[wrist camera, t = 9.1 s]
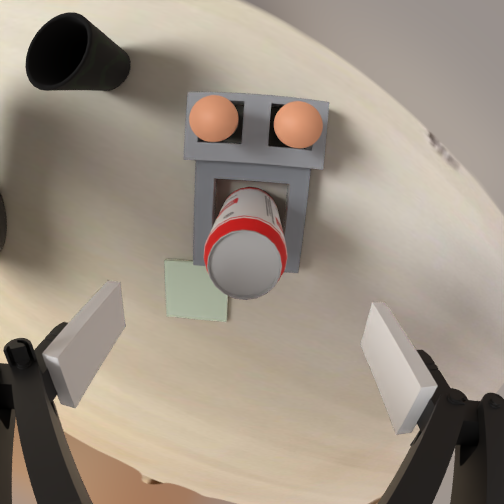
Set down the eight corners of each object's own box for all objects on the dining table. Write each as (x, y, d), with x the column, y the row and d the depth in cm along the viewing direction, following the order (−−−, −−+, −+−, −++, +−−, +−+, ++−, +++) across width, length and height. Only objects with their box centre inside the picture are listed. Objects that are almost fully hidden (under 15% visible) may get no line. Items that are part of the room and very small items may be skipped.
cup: (150, 53, 30) (107, 24, 19) (117, 108, 33) (62, 102, 22) (103, 33, 29) (52, 5, 18) (73, 85, 31) (13, 75, 20)
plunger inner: (203, 140, 33) (187, 141, 25) (206, 104, 32) (190, 94, 24) (240, 141, 33) (235, 143, 25) (243, 105, 32) (239, 96, 24)
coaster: (167, 313, 42) (166, 316, 41) (165, 258, 39) (164, 260, 39) (226, 319, 42) (226, 322, 41) (229, 263, 39) (229, 265, 39)
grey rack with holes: (188, 256, 39) (181, 269, 35) (195, 96, 32) (187, 91, 29) (303, 265, 39) (308, 279, 35) (321, 105, 33) (329, 102, 29)
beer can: (216, 229, 38) (190, 293, 23) (231, 178, 36) (211, 210, 21) (267, 244, 38) (273, 316, 23) (284, 194, 36) (303, 237, 21)
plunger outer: (269, 143, 33) (272, 145, 25) (272, 107, 32) (276, 98, 24) (306, 147, 33) (320, 150, 25) (309, 111, 32) (324, 104, 24)
